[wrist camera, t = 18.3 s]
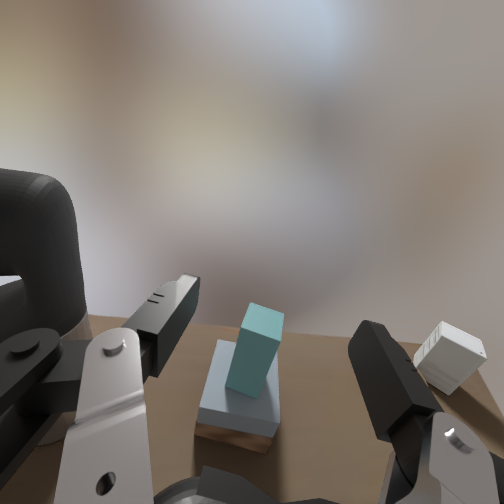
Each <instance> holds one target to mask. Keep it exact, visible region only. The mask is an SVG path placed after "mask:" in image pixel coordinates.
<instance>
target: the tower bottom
mask: <svg viewBox="0 0 504 504" xmlns="http://www.w3.org/2000/svg"><path fill="white" fill-rule="evenodd" d="M194 435H197V436H201V437H205V438H208V439H212V440H216V441H219V442H223V443H227V444H230V445H234V446H238V447H241V448H245V449H249V450H253V451H256V452H260V453H264V454H266V453H267V451H268V449H269V448H270V446H271V444H272V438H271V437H266V436H261V435H256V434H251V433H247V432H242V431H237V430H232V429H227V428H222V427H217V426H212V425H207V424H202V423H197V421H196V426H195V432H194Z"/></svg>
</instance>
